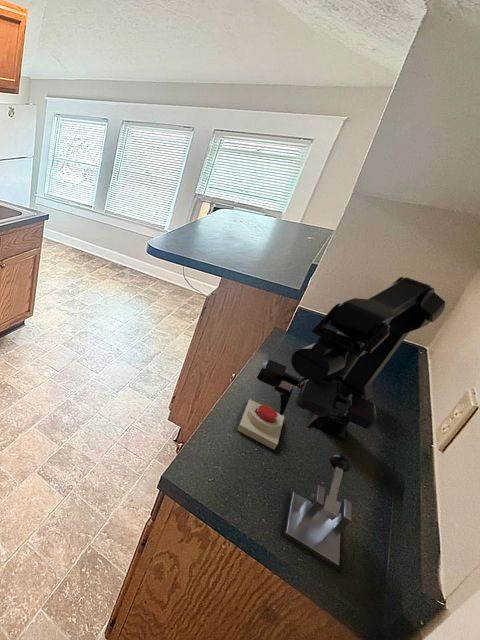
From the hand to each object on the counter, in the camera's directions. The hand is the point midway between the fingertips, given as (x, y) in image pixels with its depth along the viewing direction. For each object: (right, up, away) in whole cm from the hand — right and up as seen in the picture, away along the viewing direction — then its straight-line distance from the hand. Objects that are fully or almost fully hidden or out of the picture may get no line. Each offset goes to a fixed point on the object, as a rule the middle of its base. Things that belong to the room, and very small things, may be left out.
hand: (294, 420), depth 80 cm
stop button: (+3, -4, +13) cm, 14 cm away
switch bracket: (-2, -18, -7) cm, 20 cm away
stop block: (+3, -7, +15) cm, 17 cm away
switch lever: (+2, -10, -7) cm, 13 cm away
